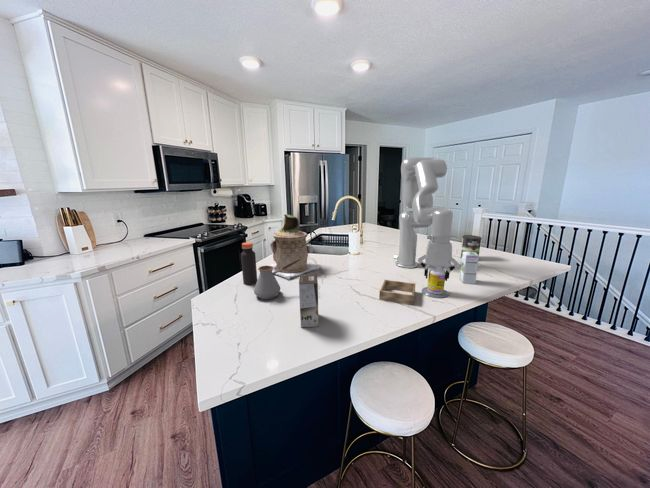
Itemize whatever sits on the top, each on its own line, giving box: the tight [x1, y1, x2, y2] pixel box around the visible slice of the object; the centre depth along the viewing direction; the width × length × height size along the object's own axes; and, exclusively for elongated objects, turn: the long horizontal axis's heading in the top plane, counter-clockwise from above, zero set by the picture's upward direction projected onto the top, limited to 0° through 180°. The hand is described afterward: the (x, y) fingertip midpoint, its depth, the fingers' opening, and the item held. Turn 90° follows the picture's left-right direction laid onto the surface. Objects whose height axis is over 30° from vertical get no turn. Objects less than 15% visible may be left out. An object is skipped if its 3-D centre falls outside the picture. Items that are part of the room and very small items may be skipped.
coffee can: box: [459, 234, 482, 260], centre depth 161 cm, size 10×10×14 cm
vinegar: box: [240, 241, 258, 286], centre depth 126 cm, size 7×7×20 cm
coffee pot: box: [253, 259, 301, 300], centre depth 113 cm, size 21×12×15 cm, turn 109°
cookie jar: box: [266, 213, 321, 281], centre depth 143 cm, size 25×25×32 cm
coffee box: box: [298, 273, 319, 328], centre depth 91 cm, size 9×6×16 cm
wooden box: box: [378, 279, 416, 306], centre depth 111 cm, size 13×13×4 cm
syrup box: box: [459, 252, 480, 285], centre depth 125 cm, size 6×6×14 cm
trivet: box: [421, 286, 450, 299], centre depth 114 cm, size 11×11×1 cm
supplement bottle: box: [426, 266, 446, 294], centre depth 113 cm, size 7×7×13 cm
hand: (436, 278), depth 113 cm, fingers open, 7 cm apart
